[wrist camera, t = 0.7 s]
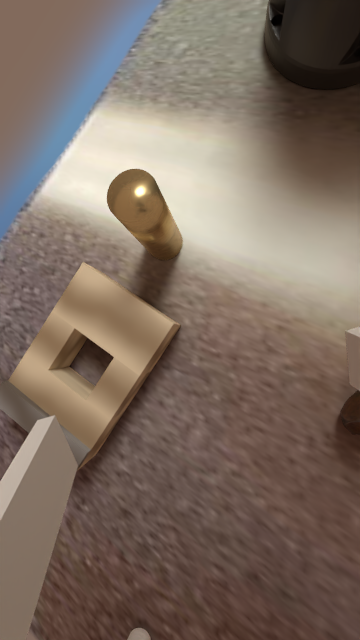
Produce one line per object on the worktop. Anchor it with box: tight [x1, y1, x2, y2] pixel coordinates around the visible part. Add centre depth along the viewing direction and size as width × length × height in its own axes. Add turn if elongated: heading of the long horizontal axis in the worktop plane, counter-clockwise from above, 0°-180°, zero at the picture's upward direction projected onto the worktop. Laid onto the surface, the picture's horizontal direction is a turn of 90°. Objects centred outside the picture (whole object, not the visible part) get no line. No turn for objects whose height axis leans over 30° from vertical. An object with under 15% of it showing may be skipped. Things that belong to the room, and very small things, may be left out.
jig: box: [0, 262, 181, 471], centre depth 31 cm, size 18×12×5 cm, turn 146°
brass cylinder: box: [107, 169, 183, 260], centre depth 27 cm, size 4×4×11 cm
